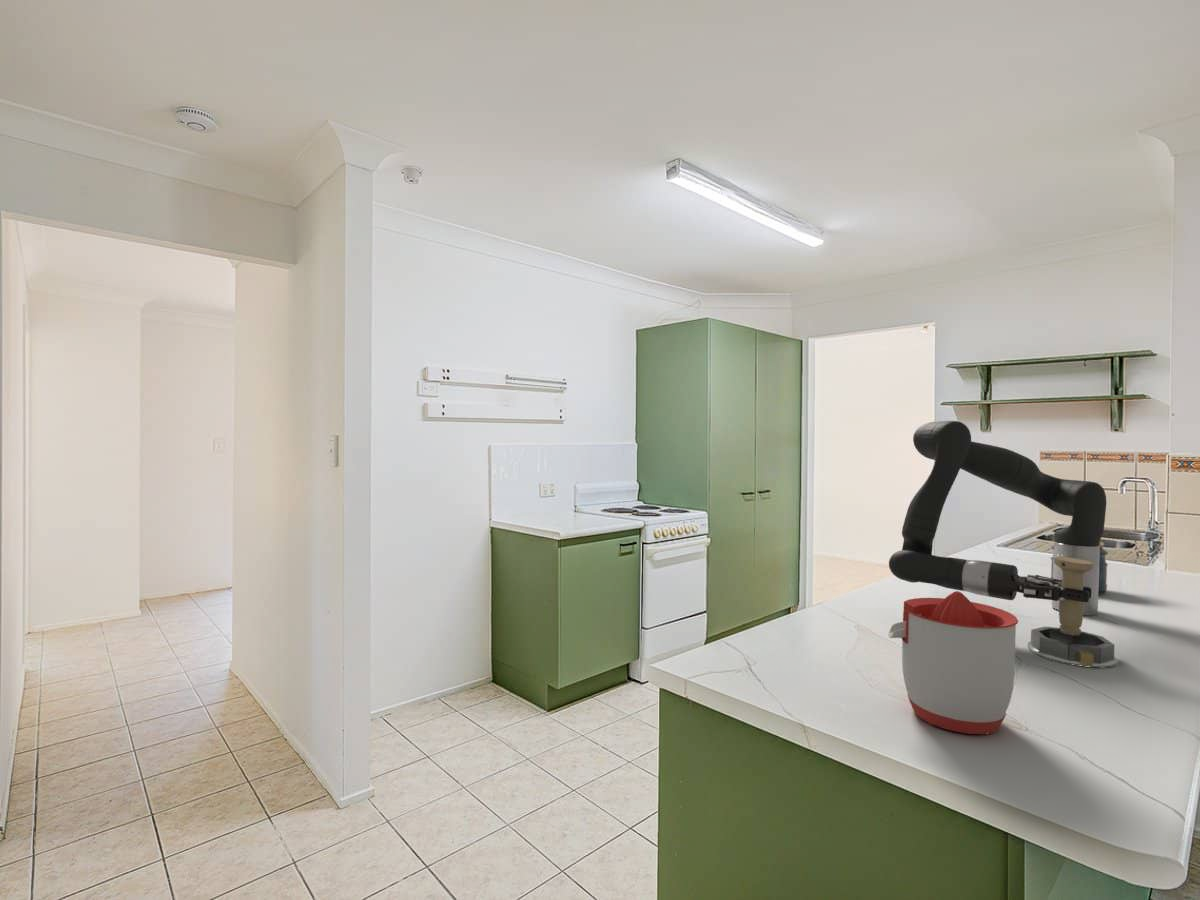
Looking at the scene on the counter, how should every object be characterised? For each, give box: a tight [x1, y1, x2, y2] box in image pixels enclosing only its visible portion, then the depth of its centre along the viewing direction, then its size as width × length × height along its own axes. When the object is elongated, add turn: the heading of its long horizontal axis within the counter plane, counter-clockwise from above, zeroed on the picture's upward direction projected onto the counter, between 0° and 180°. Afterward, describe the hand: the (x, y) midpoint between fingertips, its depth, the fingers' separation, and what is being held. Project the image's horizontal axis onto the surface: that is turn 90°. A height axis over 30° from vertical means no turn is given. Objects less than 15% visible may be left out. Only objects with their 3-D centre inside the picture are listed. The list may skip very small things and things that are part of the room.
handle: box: [1054, 557, 1093, 636], centre depth 123 cm, size 5×6×15 cm
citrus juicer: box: [888, 590, 1019, 735], centre depth 95 cm, size 16×17×20 cm
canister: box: [1050, 540, 1109, 595], centre depth 176 cm, size 13×13×18 cm
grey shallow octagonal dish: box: [1027, 626, 1118, 668], centre depth 124 cm, size 15×14×4 cm
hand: (1089, 595), depth 121 cm, fingers closed on handle, 3 cm apart
